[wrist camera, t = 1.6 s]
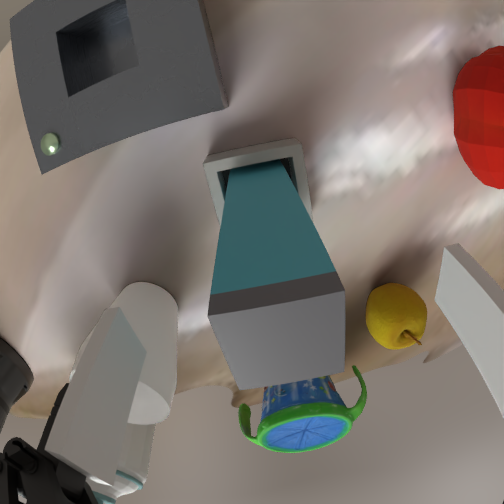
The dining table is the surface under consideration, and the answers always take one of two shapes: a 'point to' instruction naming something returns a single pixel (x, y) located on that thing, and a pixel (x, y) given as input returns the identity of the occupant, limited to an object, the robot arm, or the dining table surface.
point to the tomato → (481, 116)
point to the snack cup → (302, 415)
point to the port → (111, 71)
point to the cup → (150, 349)
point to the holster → (252, 156)
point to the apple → (395, 316)
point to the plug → (274, 284)
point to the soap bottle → (128, 464)
